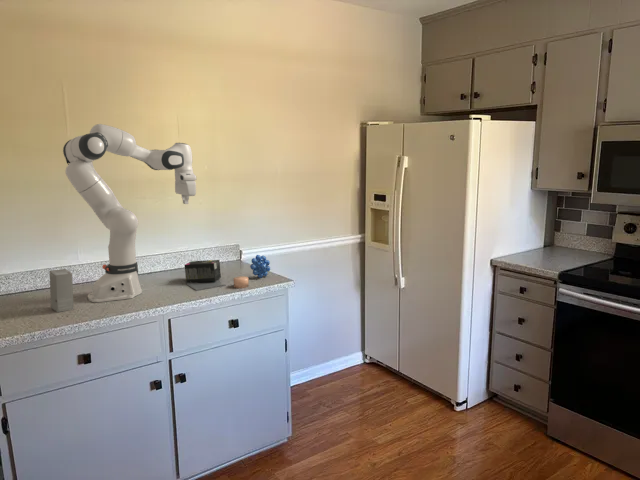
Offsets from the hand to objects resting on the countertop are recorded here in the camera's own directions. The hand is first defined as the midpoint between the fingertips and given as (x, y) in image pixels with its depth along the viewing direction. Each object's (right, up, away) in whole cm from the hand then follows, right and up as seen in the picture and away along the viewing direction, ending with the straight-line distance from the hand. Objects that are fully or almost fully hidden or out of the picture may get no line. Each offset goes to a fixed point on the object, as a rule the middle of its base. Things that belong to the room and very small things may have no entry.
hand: (185, 203), depth 243 cm
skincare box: (-38, -47, -44) cm, 75 cm away
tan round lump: (+30, -40, -13) cm, 52 cm away
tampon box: (+17, -33, -5) cm, 38 cm away
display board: (+13, -40, -11) cm, 43 cm away
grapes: (+38, -38, +2) cm, 53 cm away
